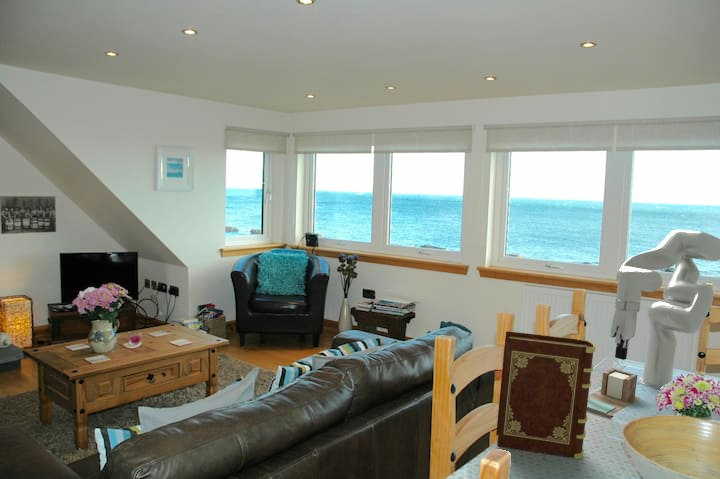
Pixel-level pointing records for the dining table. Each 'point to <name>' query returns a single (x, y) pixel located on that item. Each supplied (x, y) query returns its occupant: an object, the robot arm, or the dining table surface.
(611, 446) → the dining table surface
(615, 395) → the carton
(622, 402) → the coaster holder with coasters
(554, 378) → the decorative book
